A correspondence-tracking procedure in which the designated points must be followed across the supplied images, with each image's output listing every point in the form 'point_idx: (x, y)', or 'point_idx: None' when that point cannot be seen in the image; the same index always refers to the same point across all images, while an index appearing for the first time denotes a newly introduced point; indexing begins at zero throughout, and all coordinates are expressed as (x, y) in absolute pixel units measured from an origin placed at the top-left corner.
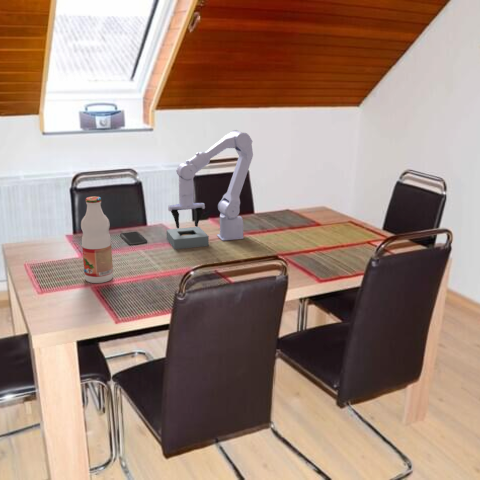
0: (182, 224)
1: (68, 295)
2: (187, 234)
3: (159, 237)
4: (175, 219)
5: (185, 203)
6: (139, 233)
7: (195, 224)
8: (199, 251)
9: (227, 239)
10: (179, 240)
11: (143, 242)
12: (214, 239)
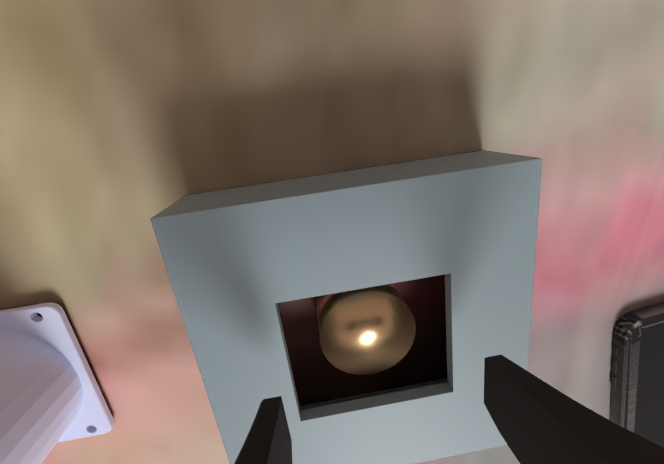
0: None
1: None
2: (358, 361)
3: None
4: (645, 440)
5: None
6: None
7: (285, 435)
8: (281, 47)
9: (5, 311)
10: (477, 164)
11: (650, 312)
12: (135, 345)
